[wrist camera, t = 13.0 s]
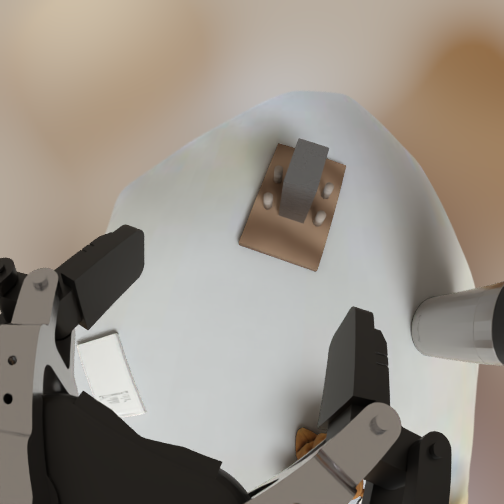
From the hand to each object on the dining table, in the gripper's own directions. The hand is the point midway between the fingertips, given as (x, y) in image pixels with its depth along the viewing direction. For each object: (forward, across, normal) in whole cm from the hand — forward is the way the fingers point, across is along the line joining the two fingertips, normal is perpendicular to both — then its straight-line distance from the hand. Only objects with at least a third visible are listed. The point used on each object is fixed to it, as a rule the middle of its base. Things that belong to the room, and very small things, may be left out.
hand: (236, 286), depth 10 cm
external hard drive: (+7, +16, +32) cm, 37 cm away
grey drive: (+30, 0, +7) cm, 30 cm away
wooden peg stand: (+30, 0, +8) cm, 32 cm away
